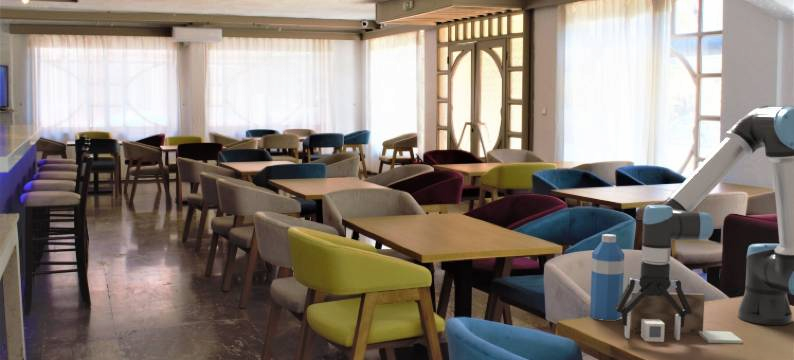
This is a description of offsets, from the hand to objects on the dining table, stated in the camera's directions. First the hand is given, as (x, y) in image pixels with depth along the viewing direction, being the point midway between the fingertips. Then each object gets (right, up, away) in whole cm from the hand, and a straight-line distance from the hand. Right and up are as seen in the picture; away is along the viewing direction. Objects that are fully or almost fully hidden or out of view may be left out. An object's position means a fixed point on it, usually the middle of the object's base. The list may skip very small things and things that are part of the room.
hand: (651, 338), depth 241 cm
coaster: (+19, 0, +1) cm, 19 cm away
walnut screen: (+6, 0, +8) cm, 10 cm away
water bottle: (-7, +2, +23) cm, 24 cm away
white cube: (0, 0, 0) cm, 0 cm away
